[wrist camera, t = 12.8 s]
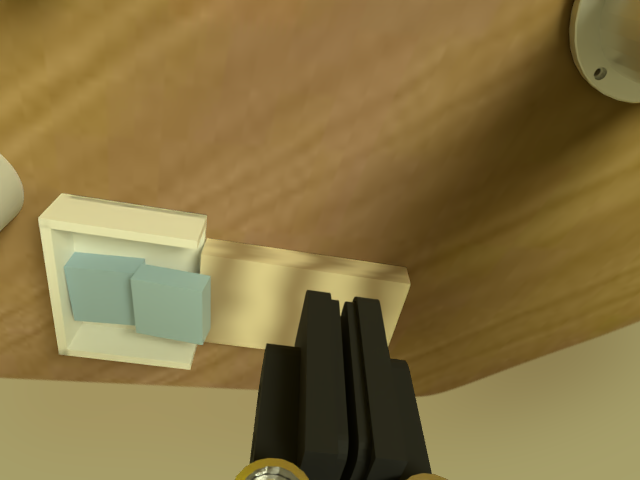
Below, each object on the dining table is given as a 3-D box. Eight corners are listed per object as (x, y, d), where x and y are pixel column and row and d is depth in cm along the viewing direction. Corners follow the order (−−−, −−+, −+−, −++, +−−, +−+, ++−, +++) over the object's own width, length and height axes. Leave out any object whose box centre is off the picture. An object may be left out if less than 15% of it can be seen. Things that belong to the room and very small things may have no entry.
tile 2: (210, 275, 41) (202, 291, 39) (210, 328, 44) (202, 345, 42) (142, 263, 41) (130, 278, 39) (146, 316, 44) (136, 332, 42)
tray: (207, 215, 41) (197, 241, 37) (198, 339, 48) (190, 369, 45) (61, 193, 39) (38, 217, 36) (77, 323, 47) (59, 354, 44)
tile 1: (145, 258, 42) (137, 273, 40) (149, 310, 45) (142, 326, 44) (74, 251, 42) (63, 266, 40) (84, 304, 45) (74, 320, 43)
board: (406, 267, 44) (410, 284, 42) (378, 345, 49) (381, 363, 47) (206, 238, 42) (201, 254, 40) (200, 322, 47) (195, 340, 45)
